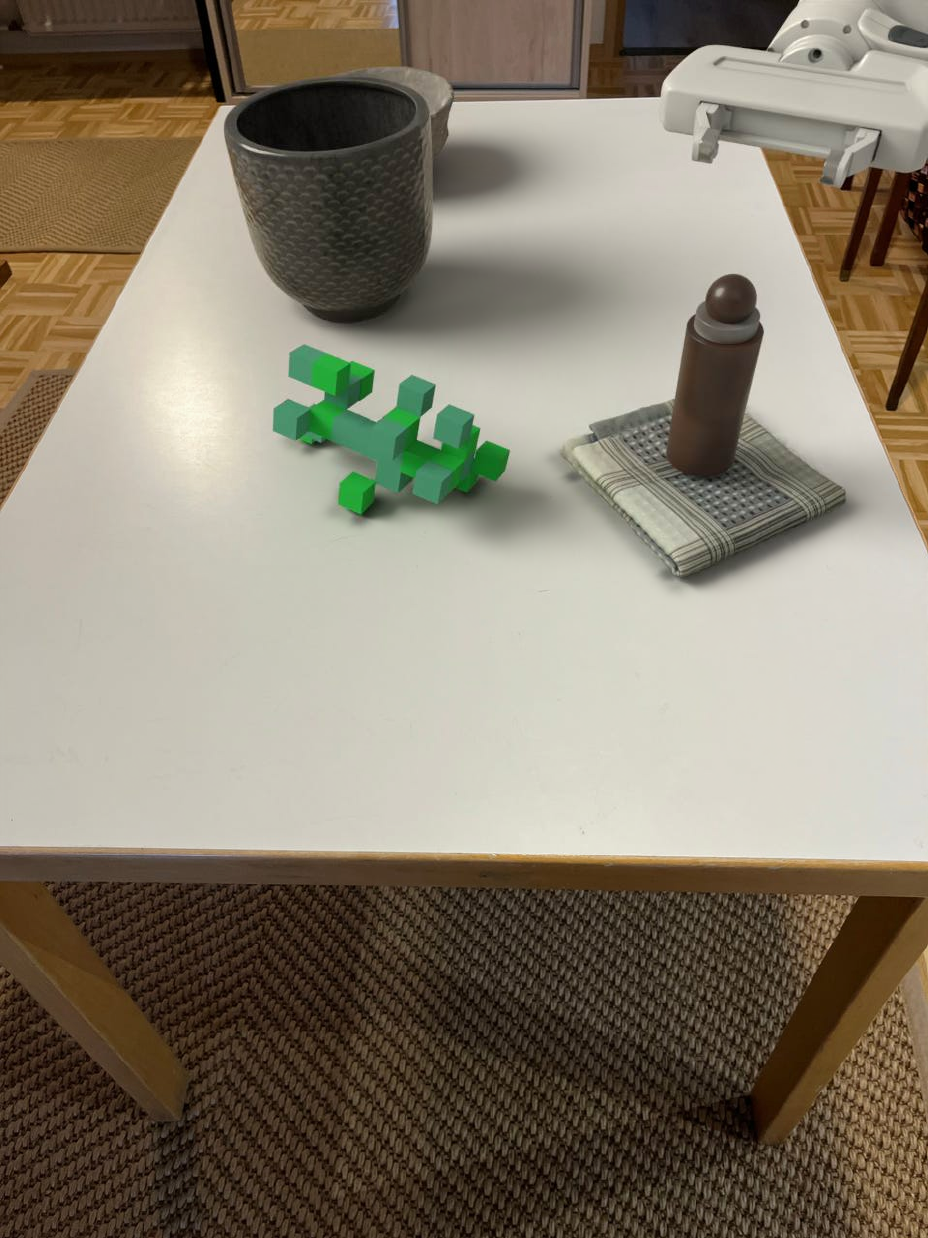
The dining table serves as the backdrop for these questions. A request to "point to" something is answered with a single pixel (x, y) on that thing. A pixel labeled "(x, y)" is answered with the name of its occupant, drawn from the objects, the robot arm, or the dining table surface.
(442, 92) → the bowl
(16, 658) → the dining table surface
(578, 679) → the dining table surface
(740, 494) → the dish towel
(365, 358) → the dining table surface
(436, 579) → the dining table surface
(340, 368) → the building blocks
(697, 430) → the pepper mill
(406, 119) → the planter
